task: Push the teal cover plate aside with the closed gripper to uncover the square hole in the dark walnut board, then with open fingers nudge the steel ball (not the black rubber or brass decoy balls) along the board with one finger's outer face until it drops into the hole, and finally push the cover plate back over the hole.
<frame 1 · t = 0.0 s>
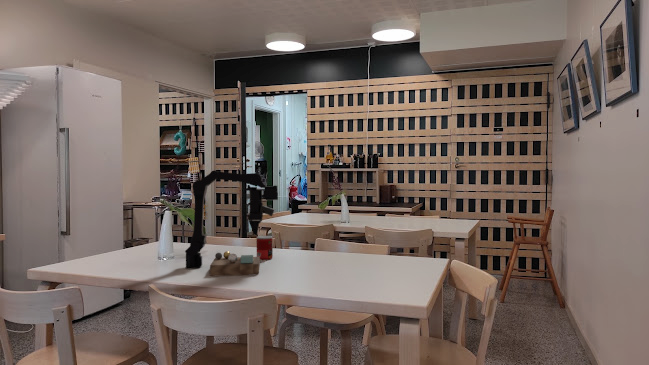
hand: (255, 234, 215), 15 cm above the table, tool pointing down, fingers open, 9 cm apart
board: (236, 270, 203), on the table
cover plate: (247, 259, 199), point 6 cm above the table, slide at 0.0 cm
canned food: (264, 259, 233), on the table
black rubber ball: (218, 255, 207), point 6 cm above the table, touching board
steel ball: (232, 258, 198), point 6 cm above the table, touching board
brass ball: (226, 254, 209), point 6 cm above the table, touching board
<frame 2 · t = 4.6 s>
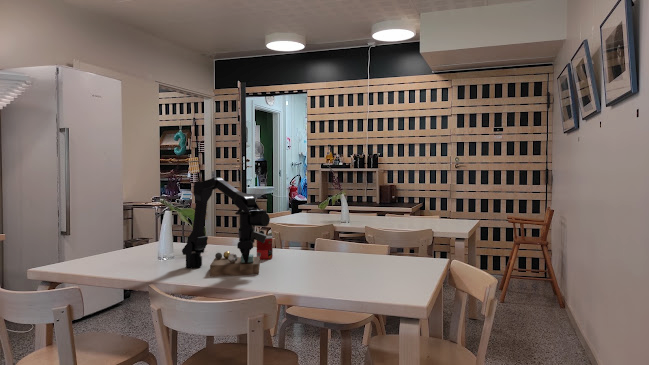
hand: (246, 262, 196), 5 cm above the table, tool pointing down, fingers closed
cover plate: (247, 258, 200), point 6 cm above the table, slide at 1.5 cm, touching gripper
everything else where it was.
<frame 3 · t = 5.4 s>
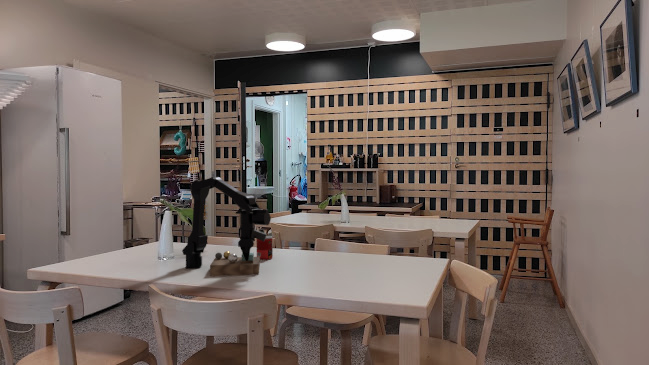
hand: (247, 260, 201), 5 cm above the table, tool pointing down, fingers closed
cover plate: (247, 256, 205), point 6 cm above the table, slide at 6.2 cm, touching gripper
everything else where it was.
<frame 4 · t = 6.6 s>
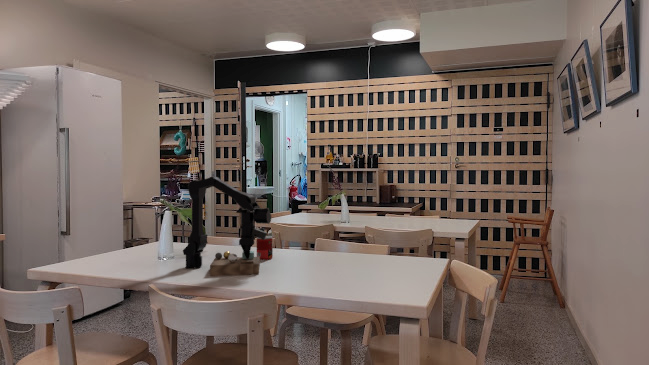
hand: (247, 258, 205), 5 cm above the table, tool pointing down, fingers closed
cover plate: (248, 254, 209), point 6 cm above the table, slide at 10.5 cm, touching gripper
everything else where it was.
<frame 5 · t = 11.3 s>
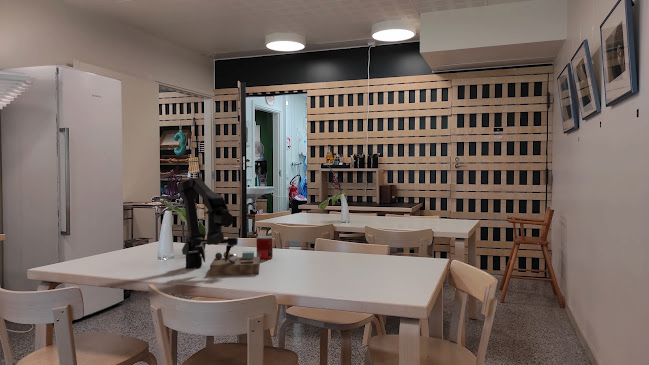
hand: (215, 261, 197), 5 cm above the table, tool pointing down, fingers open, 9 cm apart
cover plate: (248, 254, 209), point 6 cm above the table, slide at 10.5 cm
steel ball: (232, 258, 198), point 6 cm above the table, touching board, gripper
everything else where it was.
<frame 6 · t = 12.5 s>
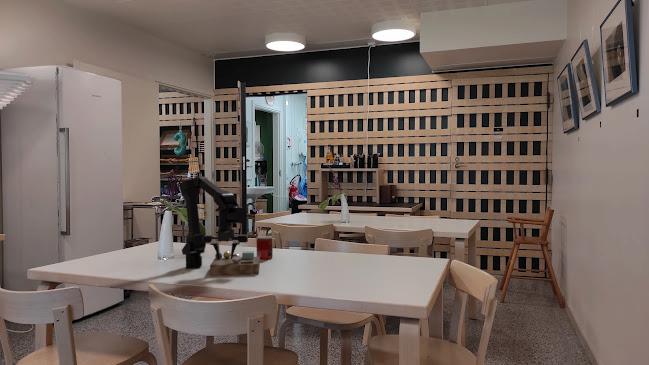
hand: (225, 259, 197), 6 cm above the table, tool pointing down, fingers open, 5 cm apart
steel ball: (236, 258, 198), point 6 cm above the table, tilted 42°, touching board, gripper
everything else where it was.
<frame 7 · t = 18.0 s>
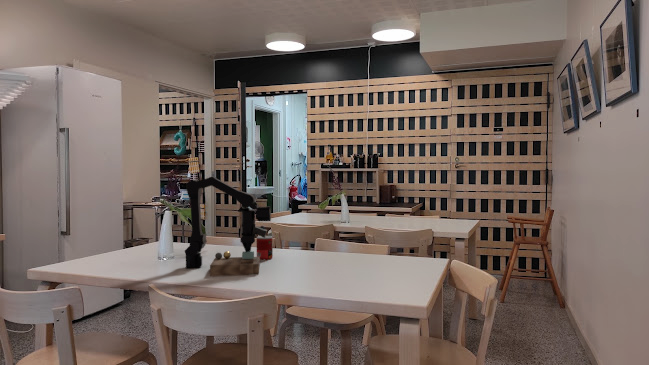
hand: (248, 255, 212), 5 cm above the table, tool pointing down, fingers closed
cover plate: (248, 255, 209), point 6 cm above the table, slide at 10.0 cm, touching gripper
steel ball: (245, 268, 198), point 2 cm above the table, tilted 99°
everything else where it was.
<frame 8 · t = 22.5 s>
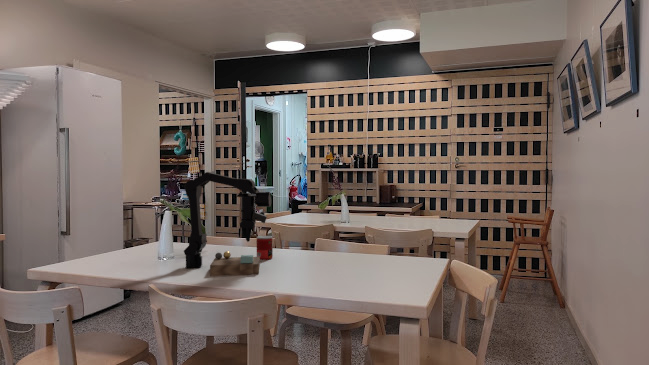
hand: (248, 241, 209), 12 cm above the table, tool pointing down, fingers closed
cover plate: (247, 259, 199), point 6 cm above the table, slide at -0.1 cm
steel ball: (245, 268, 198), point 2 cm above the table, tilted 92°
everything else where it was.
at the end: steel ball 0.5 cm from the target spot in the board, point 2.0 cm above the board's base; cover plate slide at -0.1 cm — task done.
